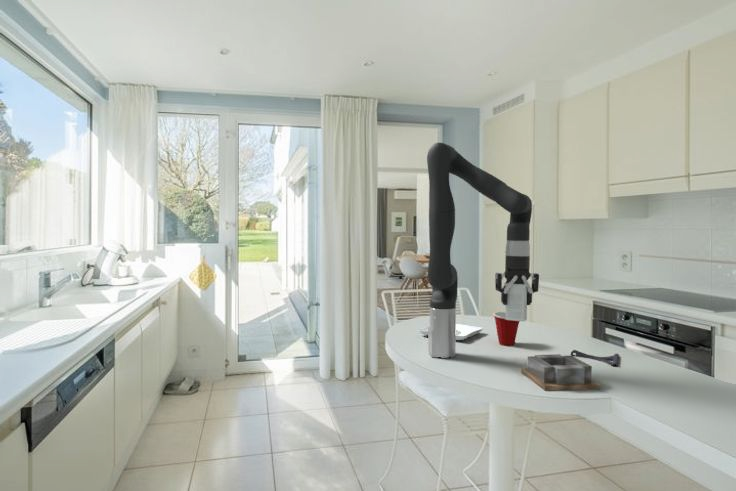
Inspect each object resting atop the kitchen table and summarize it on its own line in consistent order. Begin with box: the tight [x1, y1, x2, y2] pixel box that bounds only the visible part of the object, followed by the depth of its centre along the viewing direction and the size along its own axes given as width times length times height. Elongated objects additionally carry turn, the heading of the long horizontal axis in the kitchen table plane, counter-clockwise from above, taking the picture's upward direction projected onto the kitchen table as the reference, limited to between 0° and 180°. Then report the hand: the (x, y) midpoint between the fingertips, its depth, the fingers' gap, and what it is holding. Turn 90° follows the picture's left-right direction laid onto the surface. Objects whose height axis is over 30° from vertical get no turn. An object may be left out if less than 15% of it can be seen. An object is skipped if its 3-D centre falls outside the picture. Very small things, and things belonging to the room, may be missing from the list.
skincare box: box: [505, 283, 528, 323], centre depth 143 cm, size 6×4×12 cm
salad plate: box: [418, 323, 484, 341], centre depth 187 cm, size 21×21×3 cm
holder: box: [520, 353, 601, 391], centre depth 130 cm, size 16×16×6 cm
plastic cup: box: [492, 311, 521, 347], centre depth 171 cm, size 11×11×12 cm
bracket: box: [570, 349, 620, 368], centre depth 152 cm, size 14×15×3 cm
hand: (516, 304), depth 143 cm, fingers closed on skincare box, 7 cm apart
